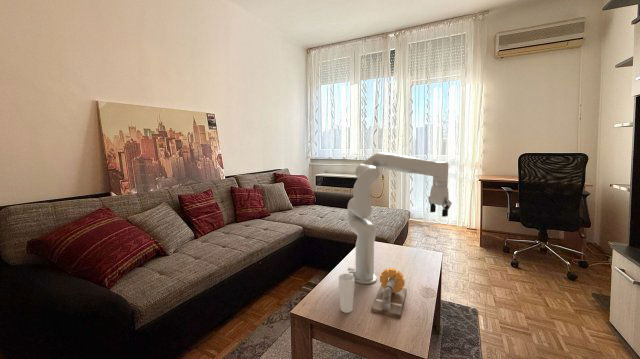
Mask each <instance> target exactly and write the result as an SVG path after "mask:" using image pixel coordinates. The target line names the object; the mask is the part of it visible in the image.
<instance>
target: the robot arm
mask: <svg viewBox="0 0 640 359" xmlns="http://www.w3.org/2000/svg"><path fill="white" fill-rule="evenodd" d="M380 169H382V170H383V169H384V170H389V171H395V172H400V173H401V172H402V173H406V174H415V175H416V174H417V175H424V176H430V177H432V185H431V187H430V193H429V196H427V197H428V203H429V207H430V208H429V209H430V211H429V213H436V208H437V205H438V206H441V207H442V212H441V213H442V214H441V217H442V218H444V217H445V218H446V217H448V216H449V210H450V208H451V206H452V202H451V200H450V199H449V197H450V196H449V188H448V184H449V183H448V182H449V162H448V161H443V160H442V161H439V160H437V161H433V160H432V161H431V160H427V159H422V158H417V157H413V156H409V155H403V154H402V155H401V154H397V153H390V152H382V151H380V152H376V153H375V154H373V155H371V156H370V157H368V158H367V159H366V160H364V161H363V162H361V163H360V164H358V166H356V168H355V173H354V174H355V177H356V180H355V183H354V184H353V190H352V191H353V193H352V194H353V197H351V199H349V200H348V203H347V215H348V224H349V229H350V230H351V232H353V233H354V234H355V235H356V238H357V239H356V242H355V267H354V268H352V267H348V268H347V271H348V274H351V275H353V276H354V279H355V283H358V284H361V285H370V284H374V283H376V281H377V274H375V266H374V264H375V241H376V235H377V229H376V226H375V224H374V223H373V222H371V221H370V220H368V218H370V217H371V216H372V211H373V208H372V198H371V188H372V187H373V185H374V184H375V183H376V182H377V181H378V179H379V178H380V175H381V171H380Z"/></svg>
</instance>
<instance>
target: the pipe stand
mask: <svg viewBox="0 0 640 359" xmlns="http://www.w3.org/2000/svg"><path fill="white" fill-rule="evenodd" d="M395 283H396V280H395V279H394V278H393V277H389V278H388V283H387V286H386V287H385V289H384V288H383V287H382V286H381V285H380V286H379V289H378V292H377V294H376V296H375V298H374V299H373V300H374V301H373V303H372V306H371V308H370V311H371V312H372V313H375V314H381V315H385V316H388V315H389V317H394V318H397V319H401V317H402V312H403V308H404V305H405V304H404V303H405V299H406V296H407V288H404V287H403V289H402V290H401V291H400V292H397V291H395V293H392V291H393V287H394V284H395Z"/></svg>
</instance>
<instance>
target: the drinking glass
mask: <svg viewBox="0 0 640 359" xmlns="http://www.w3.org/2000/svg"><path fill="white" fill-rule="evenodd" d="M355 283H356V281H355V279H354V276H353V274H352V273H340V275H339V276H338V294H339V305H340V306H339V309H340V311H341V312H342V313H345V314H350V313H352V312H353V310H354V309H353V308H354V298H355V297H354V295H355V286H356V284H355Z"/></svg>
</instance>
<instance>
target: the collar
mask: <svg viewBox="0 0 640 359" xmlns="http://www.w3.org/2000/svg"><path fill="white" fill-rule="evenodd" d="M390 277H393V278H394V279H395V280H396V283H395V284H394V287H393V291H392V293H395V291H397V292H400V291H401V290H402V289H403V288H404V287H405V286H406V285H405V281H406V280H405V279H406V278H404V275H403V273H402V272H401V271H400V270H397V268H394V267H389V268H385V269H384V270H382V271H381V274H380V275H379V283H380V287H381V286H382V287H383V288H384V289H385V287H386V286H387V283H388V280H389V278H390Z"/></svg>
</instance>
